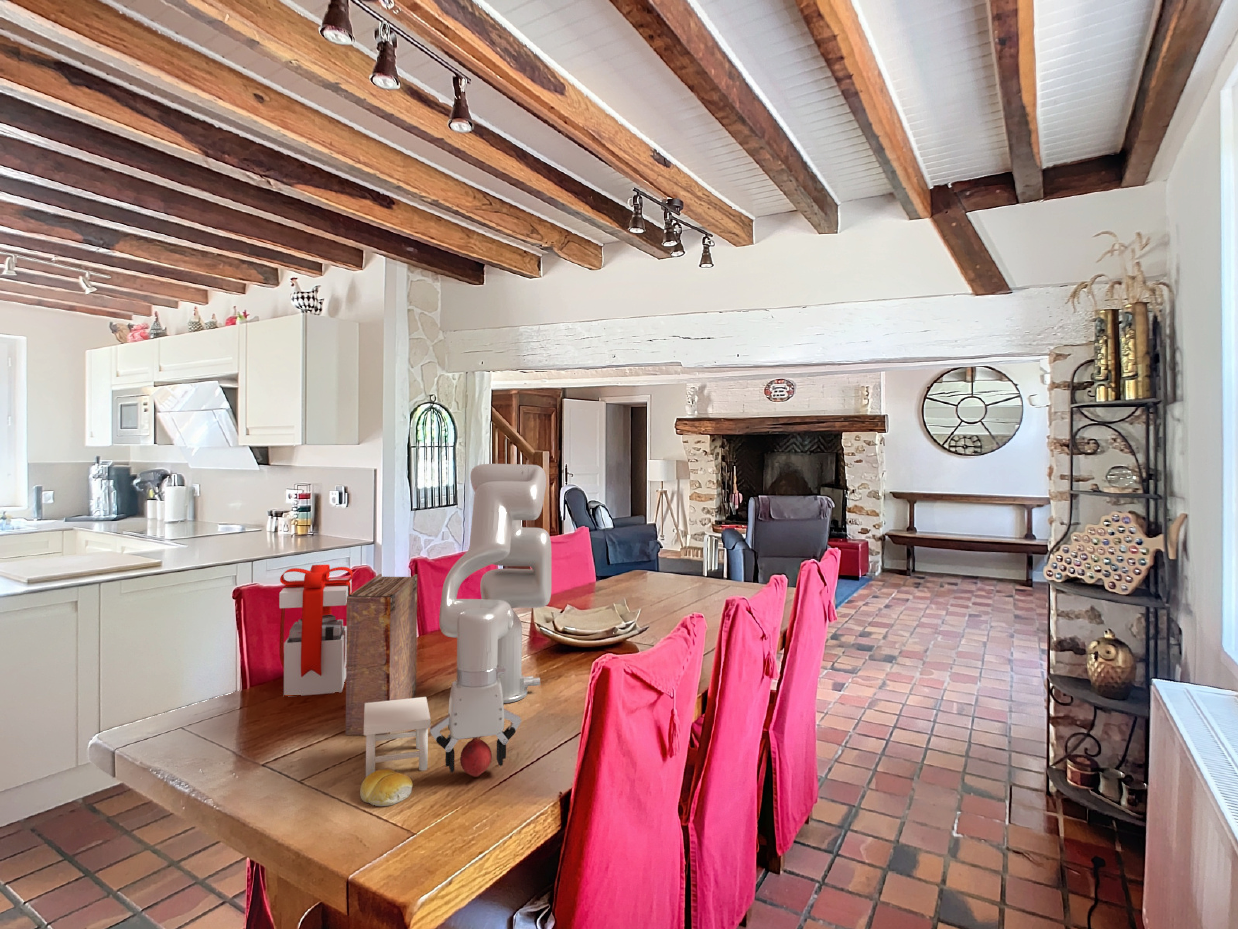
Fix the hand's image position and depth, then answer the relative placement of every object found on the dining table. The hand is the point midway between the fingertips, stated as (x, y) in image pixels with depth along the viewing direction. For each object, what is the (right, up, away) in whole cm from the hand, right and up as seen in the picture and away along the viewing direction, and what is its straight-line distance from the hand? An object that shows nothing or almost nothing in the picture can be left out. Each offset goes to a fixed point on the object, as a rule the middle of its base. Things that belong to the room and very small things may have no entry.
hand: (475, 765), depth 129 cm
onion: (0, -2, 0) cm, 2 cm away
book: (-28, -1, +30) cm, 40 cm away
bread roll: (-15, -3, -7) cm, 16 cm away
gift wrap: (-50, 0, +46) cm, 68 cm away
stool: (-17, -2, +6) cm, 18 cm away
